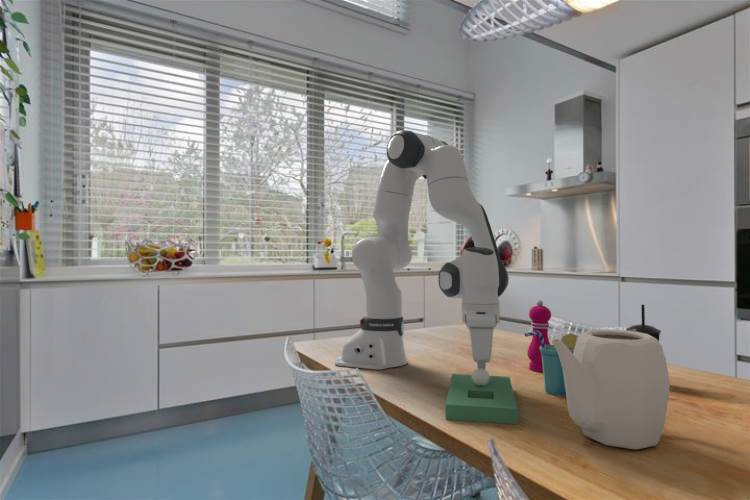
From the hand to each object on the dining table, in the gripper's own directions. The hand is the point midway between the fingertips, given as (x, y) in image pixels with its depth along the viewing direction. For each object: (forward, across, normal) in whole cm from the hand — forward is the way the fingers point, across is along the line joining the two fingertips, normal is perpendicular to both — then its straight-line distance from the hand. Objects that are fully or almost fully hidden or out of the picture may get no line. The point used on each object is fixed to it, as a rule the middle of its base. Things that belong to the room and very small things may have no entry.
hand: (481, 372), depth 108 cm
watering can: (+5, +22, +23) cm, 32 cm away
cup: (+5, -4, +17) cm, 18 cm away
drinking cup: (+5, -17, +41) cm, 45 cm away
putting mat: (+5, +6, 0) cm, 8 cm away
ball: (0, +4, 0) cm, 4 cm away
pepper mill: (+5, -26, +17) cm, 32 cm away
